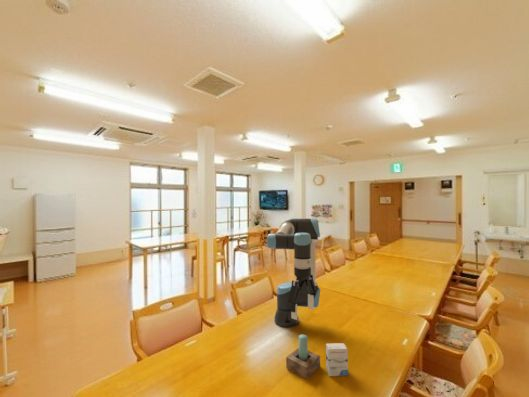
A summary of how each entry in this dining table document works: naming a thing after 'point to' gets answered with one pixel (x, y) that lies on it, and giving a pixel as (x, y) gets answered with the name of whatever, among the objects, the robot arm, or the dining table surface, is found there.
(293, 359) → the socket block
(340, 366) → the ink box
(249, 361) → the dining table surface
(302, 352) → the peg
